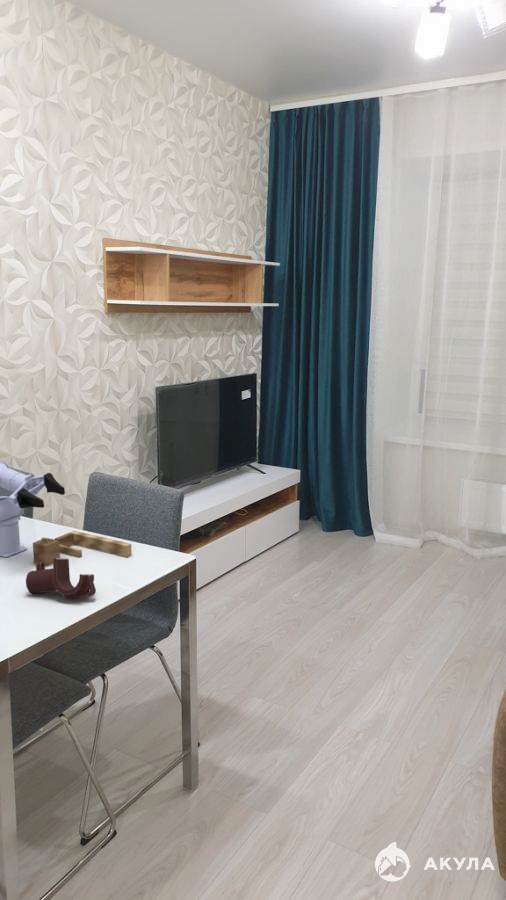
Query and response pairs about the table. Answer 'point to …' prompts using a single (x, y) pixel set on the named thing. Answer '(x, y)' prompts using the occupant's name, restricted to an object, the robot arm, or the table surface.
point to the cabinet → (46, 551)
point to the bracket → (59, 580)
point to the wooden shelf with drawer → (92, 544)
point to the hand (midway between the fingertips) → (53, 497)
